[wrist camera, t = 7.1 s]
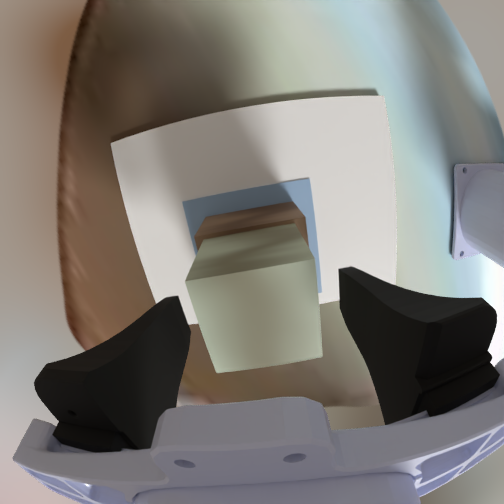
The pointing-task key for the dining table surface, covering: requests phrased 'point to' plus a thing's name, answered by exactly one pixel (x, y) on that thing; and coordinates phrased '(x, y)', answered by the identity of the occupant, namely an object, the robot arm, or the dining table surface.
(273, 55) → the dining table surface
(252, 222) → the walnut base
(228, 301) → the sage block
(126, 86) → the dining table surface
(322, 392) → the dining table surface
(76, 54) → the dining table surface
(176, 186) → the board
